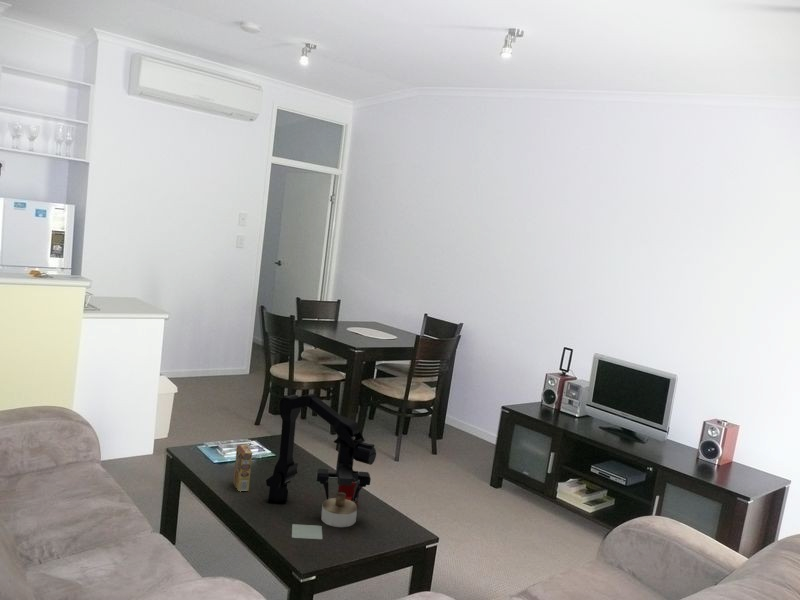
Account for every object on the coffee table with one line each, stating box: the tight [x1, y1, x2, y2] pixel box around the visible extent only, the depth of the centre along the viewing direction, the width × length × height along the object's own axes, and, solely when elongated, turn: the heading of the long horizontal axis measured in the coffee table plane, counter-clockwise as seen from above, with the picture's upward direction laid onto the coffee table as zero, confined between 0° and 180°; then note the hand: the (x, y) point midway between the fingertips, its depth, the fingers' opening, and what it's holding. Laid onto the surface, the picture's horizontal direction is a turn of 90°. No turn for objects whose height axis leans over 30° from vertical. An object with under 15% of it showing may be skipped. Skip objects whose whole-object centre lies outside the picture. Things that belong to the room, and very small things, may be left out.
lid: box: [322, 491, 358, 514], centre depth 240 cm, size 12×12×5 cm
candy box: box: [233, 444, 253, 493], centre depth 258 cm, size 9×4×15 cm, turn 27°
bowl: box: [320, 504, 358, 528], centre depth 240 cm, size 12×12×5 cm
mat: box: [291, 523, 323, 540], centre depth 228 cm, size 10×10×1 cm
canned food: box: [337, 482, 360, 506], centre depth 254 cm, size 8×8×11 cm
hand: (340, 500), depth 240 cm, fingers open, 9 cm apart
